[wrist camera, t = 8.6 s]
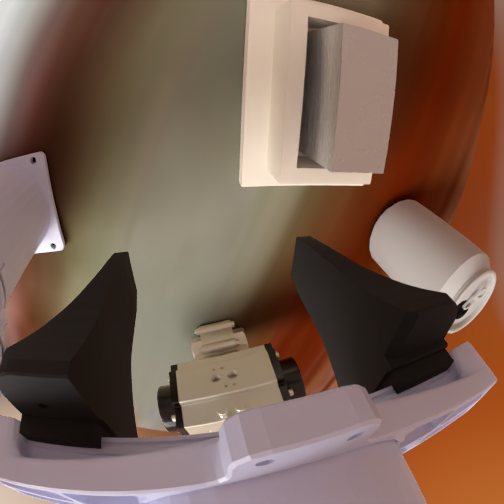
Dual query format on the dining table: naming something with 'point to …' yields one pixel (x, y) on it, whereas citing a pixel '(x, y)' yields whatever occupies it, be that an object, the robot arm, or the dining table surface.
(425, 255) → the can
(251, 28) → the hollow block
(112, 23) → the dining table surface
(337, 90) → the grey block
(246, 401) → the pneumatic valve
